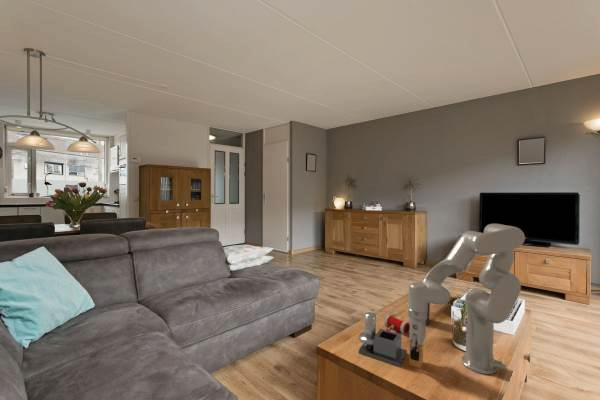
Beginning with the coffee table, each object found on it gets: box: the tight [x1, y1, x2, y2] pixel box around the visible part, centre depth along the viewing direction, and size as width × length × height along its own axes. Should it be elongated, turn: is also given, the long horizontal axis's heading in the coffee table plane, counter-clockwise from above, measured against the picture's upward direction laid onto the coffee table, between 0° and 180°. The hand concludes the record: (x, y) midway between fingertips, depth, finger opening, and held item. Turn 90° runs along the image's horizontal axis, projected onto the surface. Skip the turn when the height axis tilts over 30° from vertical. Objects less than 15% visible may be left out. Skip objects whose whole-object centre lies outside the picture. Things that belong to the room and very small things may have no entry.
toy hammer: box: [383, 314, 410, 335], centre depth 146 cm, size 23×12×6 cm, turn 127°
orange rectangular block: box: [408, 341, 424, 369], centre depth 120 cm, size 4×4×12 cm
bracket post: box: [358, 311, 408, 368], centre depth 128 cm, size 20×12×16 cm, turn 57°
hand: (416, 355), depth 120 cm, fingers open, 6 cm apart
